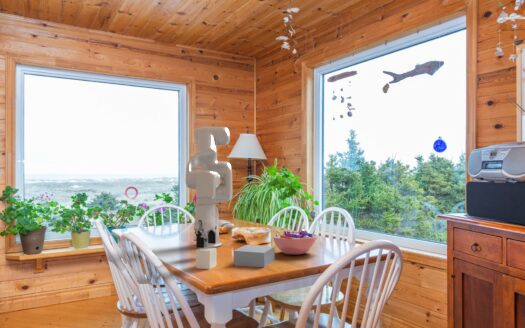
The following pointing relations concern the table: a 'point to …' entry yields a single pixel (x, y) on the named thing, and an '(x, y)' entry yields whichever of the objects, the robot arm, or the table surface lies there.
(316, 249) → the table surface
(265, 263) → the base box
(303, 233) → the cell model
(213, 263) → the cream matte cube
